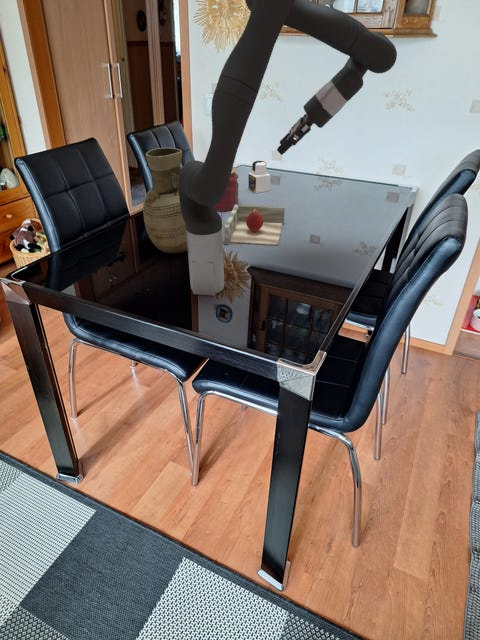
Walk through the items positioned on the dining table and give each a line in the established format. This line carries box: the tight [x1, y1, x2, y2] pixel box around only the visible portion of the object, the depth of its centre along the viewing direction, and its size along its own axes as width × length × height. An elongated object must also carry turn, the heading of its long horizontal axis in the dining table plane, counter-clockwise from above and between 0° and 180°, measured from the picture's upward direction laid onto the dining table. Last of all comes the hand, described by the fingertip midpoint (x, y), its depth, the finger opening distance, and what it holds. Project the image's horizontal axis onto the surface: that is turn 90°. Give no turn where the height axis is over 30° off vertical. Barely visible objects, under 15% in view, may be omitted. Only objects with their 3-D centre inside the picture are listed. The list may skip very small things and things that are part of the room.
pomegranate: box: [246, 209, 263, 232], centre depth 147 cm, size 6×6×8 cm
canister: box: [214, 166, 240, 212], centre depth 168 cm, size 13×13×18 cm
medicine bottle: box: [248, 160, 271, 194], centre depth 186 cm, size 7×7×12 cm
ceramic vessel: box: [142, 147, 188, 254], centre depth 134 cm, size 19×21×30 cm
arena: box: [223, 204, 285, 246], centre depth 148 cm, size 21×18×6 cm
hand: (280, 148), depth 123 cm, fingers open, 8 cm apart
